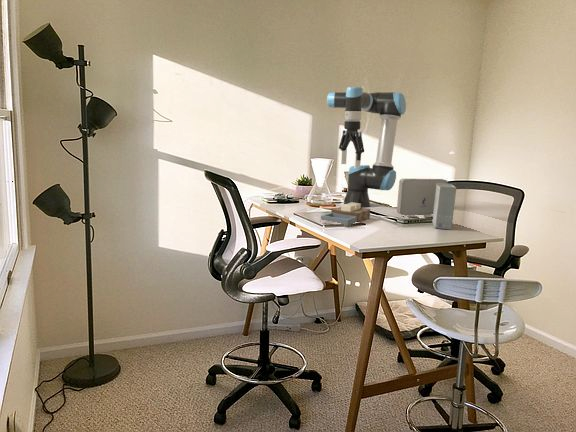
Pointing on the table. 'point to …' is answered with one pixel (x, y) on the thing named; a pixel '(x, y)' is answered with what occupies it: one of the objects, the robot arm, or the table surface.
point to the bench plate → (354, 213)
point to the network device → (417, 196)
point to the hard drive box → (444, 206)
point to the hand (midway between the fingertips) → (350, 165)
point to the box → (340, 218)
